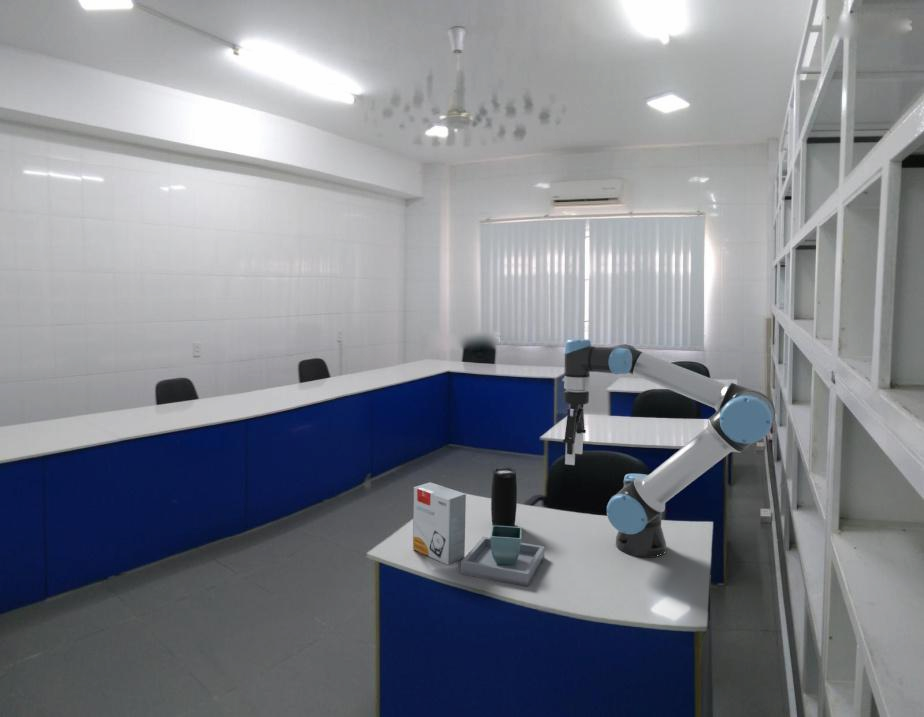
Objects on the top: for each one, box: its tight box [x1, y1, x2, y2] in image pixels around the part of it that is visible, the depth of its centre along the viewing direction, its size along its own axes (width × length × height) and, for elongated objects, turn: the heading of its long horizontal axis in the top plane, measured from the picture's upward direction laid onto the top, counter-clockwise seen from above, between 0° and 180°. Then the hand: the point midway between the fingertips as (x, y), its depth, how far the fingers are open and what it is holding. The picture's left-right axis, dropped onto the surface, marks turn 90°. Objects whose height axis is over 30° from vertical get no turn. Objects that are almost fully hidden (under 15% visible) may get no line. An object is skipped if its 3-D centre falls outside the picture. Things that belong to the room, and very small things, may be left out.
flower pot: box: [489, 526, 523, 565], centre depth 172 cm, size 9×9×9 cm
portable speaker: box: [490, 467, 518, 527], centre depth 201 cm, size 9×9×20 cm
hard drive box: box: [412, 481, 467, 566], centre depth 179 cm, size 16×8×20 cm, turn 47°
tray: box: [460, 536, 546, 587], centre depth 172 cm, size 19×19×4 cm
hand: (574, 458), depth 181 cm, fingers open, 13 cm apart
